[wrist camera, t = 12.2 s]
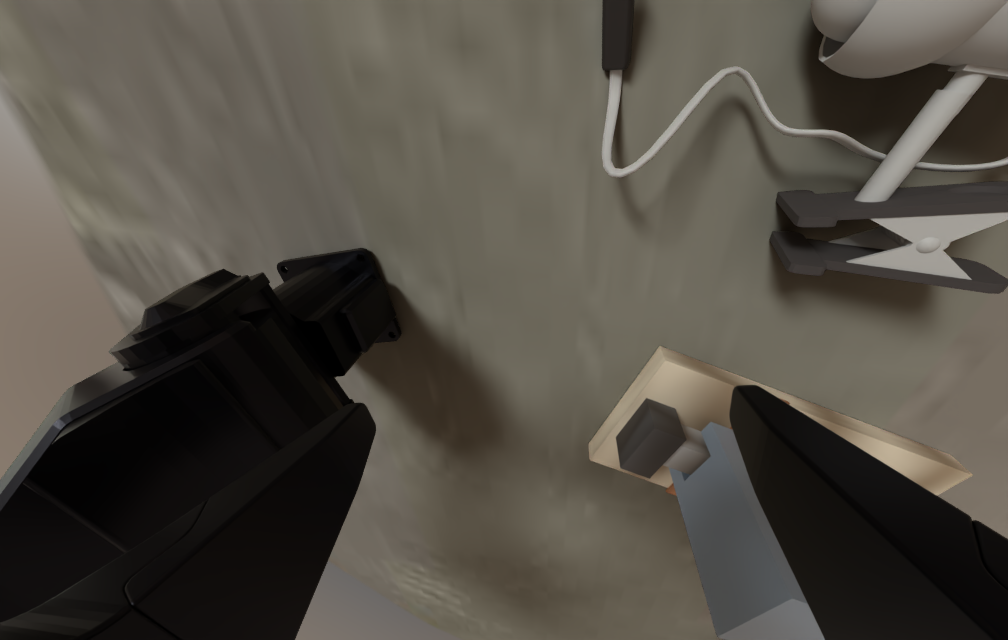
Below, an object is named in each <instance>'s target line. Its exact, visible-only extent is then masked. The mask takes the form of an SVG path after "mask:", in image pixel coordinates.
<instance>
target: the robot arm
mask: <svg viewBox="0 0 1008 640" xmlns="http://www.w3.org/2000/svg"><path fill="white" fill-rule="evenodd" d="M360 254H361V255H363V256H364V258H365V260H363V259H362V258H361V257H360ZM285 267H286V268H287V269H288V270H286V268H285ZM277 270H278V272H279V274H280V276H281V278H282V279H283V281H284V283H283V284H281V285H279V286H278V287H276V288H275V289H273V290H272V288H271V287H270V285H269V283H270V281H269V280H268V278H267V277H266V276H265V274H264V273H263V272H262V273H259V274H256V275H253V276H251V277H249V276H248V275H245V276H242V277H241V275H239V276H237V275H235V274H233V273H231V272H229V271H227V270H225V269H222V270H219V271H216V272H214V273H211V274H209V275H207V276H205V277H203V278H201V279H199V280H197V281H194V282H192V283H190V284H188V285H186V286H184V287H182V288H180V289H178V290H176V291H175V292H173V293H171V294H170V295H168V296H166V297H165V298H163V299H161V300H160V301H158V302H156V303H155V304H153V305H152V306H150V307H148V308H147V309H145V311H144V315H143V318H142V321H141V324H140V325H139V326H137V327H136V328H135V329H134V330H133V331H132V332H130V333H129V334H128V335H127V336H126V337H124V338H123V339H122V340H121V341H120V342H118V343H117V344H116V345H115V346H114V347H113V348H111V349H110V350H109V353H110V354H111V355H112V356H113V357H114V358H115V359H116V360H117V361H118V362H117V363H115V364H113V365H111V366H109V367H107V368H106V369H104V370H102V371H100V372H98V373H96V374H94V375H92V376H90V377H88V378H86V379H85V380H83V381H81V382H79V383H77V384H75V385H73V386H72V387H70V388H69V389H68V390H67V391H66V392H65V393H64V394H63V395H62V396H61V398H60V399H59V400H58V402H57V403H56V405H55V406H54V407H53V409H52V410H51V412H50V413H49V414H48V415H47V417H46V418H45V420H44V421H43V422H42V424H41V425H40V426H39V428H38V429H37V431H36V432H35V433H34V435H33V436H32V437H31V439H30V440H29V442H28V443H27V444H26V445H25V447H24V448H23V450H22V451H21V452H20V454H19V455H18V456H17V458H16V459H15V461H14V462H13V463H12V465H11V466H10V467H9V469H8V470H7V471H6V473H5V474H4V476H3V477H2V478H1V480H0V640H295V638H296V636H297V633H298V631H299V629H300V626H301V624H302V621H303V619H304V617H305V614H306V612H307V609H308V607H309V605H310V602H311V600H312V597H313V595H314V593H315V590H316V588H317V585H318V583H319V581H320V578H321V576H322V574H323V571H324V569H325V566H326V564H327V562H328V559H329V557H330V554H331V552H332V550H333V547H334V545H335V542H336V540H337V538H338V535H339V533H340V530H341V528H342V526H343V523H344V521H345V519H346V516H347V514H348V511H349V509H350V507H351V504H352V502H353V499H354V497H355V495H356V492H357V489H358V487H359V484H360V481H361V478H362V475H363V472H364V469H365V465H366V462H367V459H368V456H369V452H370V449H371V446H372V443H373V440H374V436H375V433H376V425H375V422H374V420H373V418H372V416H371V414H370V412H369V410H368V408H367V407H366V405H365V404H363V403H354V401H353V400H352V399H349V398H348V396H347V395H346V393H345V392H344V391H343V389H342V388H341V386H340V385H339V383H338V382H337V381H336V379H335V378H336V376H344V375H345V374H346V373H347V372H348V370H349V369H350V368H351V367H352V366H353V364H354V363H355V362H356V361H357V359H358V358H359V357H360V356H361V355H362V353H366V352H367V351H368V350H369V349H370V348H371V346H372V345H373V344H374V343H379V342H390V341H397V340H398V339H399V338H400V336H401V330H400V327H399V325H398V322H397V319H396V317H395V316H396V314H395V311H394V308H393V306H392V303H391V301H390V298H389V296H388V293H387V291H386V288H385V285H384V283H383V281H382V280H381V279H380V276H379V274H378V271H377V268H376V266H375V263H374V261H373V258H372V256H371V254H370V252H369V251H368V250H367V249H364V248H358V249H352V250H345V251H339V252H333V253H326V254H320V255H314V256H307V257H301V258H295V259H288V260H284V261H282V262H280V263H278V265H277ZM391 332H394V333H395V335H394V334H392V333H391ZM729 418H730V423H731V427H732V429H733V432H734V435H735V438H736V441H737V444H738V447H739V450H740V453H741V455H742V458H743V461H744V464H745V467H746V470H747V473H748V476H749V478H750V481H751V484H752V487H753V489H754V492H755V494H756V496H757V499H758V501H759V503H760V505H761V507H762V509H763V512H764V514H765V516H766V518H767V520H768V522H769V524H770V526H771V528H772V530H773V532H774V534H775V537H776V539H777V541H778V543H779V545H780V547H781V549H782V551H783V553H784V555H785V557H786V559H787V562H788V564H789V566H790V568H791V570H792V572H793V574H794V576H795V578H796V580H797V582H798V584H799V587H800V589H801V591H802V593H803V595H804V597H805V599H806V601H807V603H808V605H809V607H810V610H811V612H812V614H813V616H814V618H815V620H816V622H817V624H818V626H819V628H820V630H821V632H822V635H823V637H824V639H825V640H1008V539H1007V538H1005V537H1003V536H1002V535H1000V534H999V533H997V532H995V531H994V530H992V529H990V528H989V527H987V526H986V525H984V524H982V523H981V522H979V521H976V520H973V521H972V519H971V517H970V516H969V515H967V514H966V513H964V512H963V511H961V510H959V509H958V508H956V507H954V506H953V505H951V504H950V503H948V502H946V501H945V500H943V499H941V498H940V497H938V496H937V495H935V494H933V493H932V492H930V491H929V490H927V489H925V488H924V487H922V486H920V485H919V484H917V483H916V482H914V481H912V480H911V479H909V478H907V477H906V476H904V475H903V474H901V473H899V472H898V471H896V470H894V469H893V468H891V467H890V466H888V465H886V464H885V463H883V462H881V461H880V460H878V459H877V458H875V457H873V456H872V455H870V454H868V453H867V452H865V451H864V450H862V449H860V448H859V447H857V446H856V445H854V444H852V443H851V442H849V441H847V440H846V439H844V438H843V437H841V436H839V435H838V434H836V433H834V432H833V431H831V430H830V429H828V428H826V427H825V426H823V425H821V424H820V423H818V422H817V421H815V420H813V419H812V418H810V417H808V416H807V415H805V414H804V413H802V412H800V411H799V410H797V409H795V408H794V407H792V406H791V405H789V404H787V403H786V402H784V401H783V400H781V399H779V398H778V397H776V396H774V395H773V394H771V393H770V392H768V391H766V390H765V389H763V388H761V387H760V386H757V385H738V386H735V387H734V389H733V392H732V398H731V405H730V412H729Z"/></svg>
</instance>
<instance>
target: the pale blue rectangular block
mask: <svg viewBox="0 0 1008 640" xmlns="http://www.w3.org/2000/svg"><path fill="white" fill-rule="evenodd" d="M701 433H702V436H703V438H704V441H705V443H706V445H707V448H708V450H709V453H710V455H711V456H710V457H709V458H708V459H707V460H706V461H705V462H704V463H703V464H702V465H701V466H700V467H699V468H698V469H697V470H696V471H695V472H694V473H693V474H691V475H689V474H686V473H683V472H681V471H678V470H675V469H672V468H669V470H670V474H671V477H672V481H673V484H674V488H675V491H676V495H677V498H678V502H679V505H680V509H681V512H682V516H683V519H684V523H685V526H686V530H687V533H688V537H689V540H690V544H691V547H692V551H693V554H694V558H695V561H696V565H697V568H698V572H699V575H700V579H701V582H702V586H703V589H704V593H705V596H706V600H707V603H708V607H709V610H710V614H711V617H712V621H713V624H714V628H715V631H716V635H717V637H719V638H722V639H725V640H825V639H824V637H823V635H822V632H821V630H820V628H819V626H818V624H817V622H816V620H815V618H814V616H813V614H812V612H811V610H810V607H809V605H808V603H807V601H806V599H805V597H804V595H803V593H802V591H801V589H800V587H799V584H798V582H797V580H796V578H795V576H794V574H793V572H792V570H791V568H790V566H789V564H788V562H787V559H786V557H785V555H784V553H783V551H782V549H781V547H780V545H779V543H778V541H777V539H776V537H775V534H774V532H773V530H772V528H771V526H770V524H769V522H768V520H767V518H766V516H765V514H764V512H763V509H762V507H761V505H760V503H759V501H758V499H757V496H756V494H755V492H754V489H753V487H752V484H751V481H750V478H749V476H748V473H747V470H746V467H745V464H744V461H743V458H742V455H741V453H740V450H739V447H738V444H737V441H736V438H735V435H734V432H733V430H732V429H729V428H727V427H724V426H721V425H718V424H716V423H713V422H710V423H709V424H708V425H707V426H706V427H705V428H704V429H703V430H702V431H701Z"/></svg>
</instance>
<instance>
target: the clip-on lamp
mask: <svg viewBox="0 0 1008 640" xmlns="http://www.w3.org/2000/svg"><path fill="white" fill-rule="evenodd" d="M633 14H634V0H603V18H602V68H603V70H605V71H608V70H610V87H609V101H608V108H607V115H606V122H605V129H604V135H603V145H602V160H603V168H604V169H605V170H606V172H607V173H608V174H609V176H610V177H618V178H622V177H625V176H627V175H629V174H632V173H634V172H636V171H637V170H639V169H640V168H641V167H642V166H644V165H645V164H646V163H647V162H649V161H650V160H651V159H652V158H653V157H654V156H655V155H656V154H657V153H658V152H659V151H660V150H661V148H662V147H663V146H664V145H665V144H666V143H667V142H668V141H669V140H670V139H671V137H672V136H673V135H674V134H675V133H676V131H677V130H678V129H679V128H680V126H681V125H682V124H683V123H684V121H685V120H686V119H687V118H688V116H689V115H690V114H691V113H692V112H693V110H694V109H695V108H696V107H697V105H698V104H699V103H700V102H701V101H702V99H703V98H704V97H705V96H706V95H707V93H708V92H709V91H710V90H711V89H712V88H713V87H714V86H715V85H716V84H717V83H718V82H719V81H721V80H722V79H723V78H724V77H725V76H728V75H731V74H736V75H738V76H740V77H742V79H743V80H744V81H745V83H746V84H747V86H748V87H749V88H750V90H751V92H752V94H753V96H754V98H755V100H756V102H757V104H758V106H759V108H760V109H761V111H762V113H763V114H764V116H765V118H766V119H767V121H768V122H769V123H770V124H771V125H772V126H773V128H774V129H775V130H777V131H779V132H780V133H782V134H783V135H787V136H792V137H819V138H828V139H831V140H834V141H836V142H838V143H840V144H841V145H843V146H845V147H846V148H848V149H849V150H851V151H853V152H855V153H857V154H859V155H861V156H864V157H867V158H870V159H873V160H876V161H879V162H882V163H881V164H880V165H879V167H878V168H877V169H876V171H875V172H874V173H873V175H872V176H871V177H870V179H869V180H868V181H867V183H866V184H865V186H864V187H863V188H862V190H861V191H855V192H841V193H827V194H814V193H813V192H812V191H808V190H796V191H785V192H778V195H777V199H776V202H777V203H778V204H779V206H780V207H781V208H782V209H783V211H784V212H785V213H786V215H787V216H788V217H789V218H790V220H791V221H792V222H793V223H794V225H796V226H799V227H833V226H836V223H837V220H853V219H871V220H872V221H874V222H876V223H878V224H880V225H882V226H880V227H876V228H873V229H869V230H866V231H862V232H859V233H855V234H852V235H849V236H845V237H842V238H838V239H835V240H831V241H821V240H813V239H806V238H805V236H804V235H803V234H800V233H796V232H775V231H773V232H772V235H771V237H770V242H771V244H772V245H773V247H774V249H775V251H776V252H777V254H778V256H779V258H780V260H781V261H782V263H783V265H784V267H785V269H786V270H787V271H790V272H792V273H798V274H806V275H815V276H821V275H823V273H824V271H825V269H828V270H834V271H841V272H848V273H855V274H862V275H868V276H875V277H882V278H889V279H895V280H902V281H909V282H916V283H922V284H929V285H936V286H943V287H949V288H956V289H963V290H970V291H977V292H983V293H997V294H999V293H1001V292H1003V291H1004V290H1005V289H1006V287H1007V286H1008V279H1007V278H1005V277H1003V276H1002V275H1000V274H998V273H997V272H995V271H994V270H992V269H990V268H989V267H987V266H985V265H983V264H981V263H978V262H975V261H971V260H967V259H961V258H954V257H949V256H948V255H947V254H946V253H945V252H944V251H943V250H944V249H946V248H947V247H948V246H949V245H950V243H951V242H952V241H954V240H957V239H959V238H962V237H965V236H967V235H970V234H972V233H975V232H978V231H980V230H983V229H985V228H988V227H990V226H993V225H996V224H998V223H1001V222H1003V221H1006V220H1008V182H979V183H965V184H951V185H937V186H924V187H910V188H898V187H899V185H900V184H901V183H902V182H903V180H904V179H905V178H906V177H907V175H908V174H909V173H910V172H911V170H912V169H921V170H930V171H944V172H969V171H979V170H987V169H992V168H996V167H1001V166H1005V165H1008V157H1006V158H1004V159H1002V160H999V161H995V162H991V163H983V164H972V165H946V164H933V163H924V162H919V161H920V159H921V158H922V157H923V156H924V154H925V153H926V152H927V151H928V149H929V148H930V147H931V146H932V144H933V143H934V142H935V141H936V140H937V138H938V137H939V136H940V135H941V133H942V132H943V131H944V130H945V128H946V127H947V126H948V125H949V123H950V122H951V121H952V120H953V118H954V117H955V116H956V115H957V114H958V113H959V112H960V111H961V109H962V108H963V107H964V106H965V104H966V103H967V102H968V101H969V99H970V98H971V97H972V96H973V95H974V93H975V92H976V91H977V90H978V88H979V87H980V86H981V85H982V83H983V82H984V81H985V80H986V79H987V77H991V78H998V79H1005V80H1008V0H811V14H812V19H813V21H814V24H815V26H816V27H817V28H818V30H819V31H820V32H821V33H822V34H824V36H823V40H822V43H821V46H820V49H819V60H820V61H822V62H823V63H824V64H825V65H826V66H828V67H829V68H830V69H832V70H834V71H836V72H838V73H839V74H842V75H846V76H849V77H853V78H865V79H868V78H881V77H886V76H891V75H896V74H899V73H902V72H905V71H909V70H912V69H915V68H918V67H921V66H924V65H927V64H929V63H936V64H942V65H949V66H950V68H949V69H948V70H947V71H950V72H956V73H955V74H954V76H953V77H952V78H951V80H950V81H949V82H948V84H947V85H946V86H945V88H944V89H943V90H936V91H935V92H934V93H933V95H932V96H931V97H930V99H929V100H928V101H927V103H926V104H925V105H924V107H923V108H922V109H921V111H920V112H919V113H918V115H917V116H916V117H915V119H914V120H913V121H912V123H911V124H910V125H909V127H908V128H907V129H906V131H905V132H904V133H903V135H902V136H901V137H900V139H899V140H898V141H897V143H896V144H895V145H894V147H893V148H892V149H891V151H890V152H889V153H888V155H885V154H883V153H880V152H877V151H874V150H872V149H870V148H868V147H866V146H864V145H862V144H860V143H859V142H857V141H856V140H854V139H853V138H851V137H849V136H847V135H846V134H843V133H840V132H837V131H833V130H800V129H794V128H788V127H786V126H785V125H783V124H781V123H780V122H779V121H778V120H777V119H776V118H775V117H774V116H773V114H772V113H771V111H770V109H769V108H768V106H767V104H766V102H765V100H764V98H763V96H762V94H761V92H760V90H759V88H758V86H757V84H756V82H755V81H754V79H753V78H752V76H751V75H750V74H749V72H747V71H745V70H743V69H742V68H740V67H737V66H735V67H731V68H726V69H722V70H721V71H720V72H718V73H717V74H716V75H715V76H714V77H712V78H711V79H710V80H709V81H708V82H707V83H705V84H704V85H703V87H702V88H701V89H700V90H699V91H698V92H697V93H696V95H695V96H694V97H693V98H692V99H691V100H690V101H689V103H688V104H687V105H686V106H685V107H684V109H683V110H682V111H681V112H680V114H679V115H678V116H677V117H676V119H675V120H674V121H673V122H672V124H671V125H670V126H669V127H668V128H667V130H666V131H665V132H664V133H663V134H662V136H661V137H660V138H659V139H658V140H657V141H656V142H655V144H654V145H653V146H652V147H651V148H650V149H649V150H648V151H647V152H646V153H645V154H644V155H643V156H642V157H641V158H639V159H638V160H637V161H636V162H635V163H633V164H631V165H629V166H628V167H626V168H624V169H618V168H615V167H614V165H613V163H612V143H613V137H614V131H615V125H616V120H617V115H618V109H619V103H620V96H621V85H622V70H624V69H627V67H628V65H629V63H630V59H631V44H632V29H633Z"/></svg>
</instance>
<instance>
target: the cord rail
mask: <svg viewBox="0 0 1008 640" xmlns="http://www.w3.org/2000/svg"><path fill="white" fill-rule="evenodd" d="M738 385H757V386H760V387H761V388H763V389H765V390H766V391H768V392H770V393H771V394H773V395H774V396H776V397H778V398H779V399H781V400H783V401H784V402H786V403H787V404H789V405H791V406H792V407H794V408H795V409H797V410H799V411H800V412H802V413H804V414H805V415H807V416H808V417H810V418H812V419H813V420H815V421H817V422H818V423H820V424H821V425H823V426H825V427H826V428H828V429H830V430H831V431H833V432H834V433H836V434H838V435H839V436H841V437H843V438H844V439H846V440H847V441H849V442H851V443H852V444H854V445H856V446H857V447H859V448H860V449H862V450H864V451H865V452H867V453H868V454H870V455H872V456H873V457H875V458H877V459H878V460H880V461H881V462H883V463H885V464H886V465H888V466H890V467H891V468H893V469H894V470H896V471H898V472H899V473H901V474H903V475H904V476H906V477H907V478H909V479H911V480H912V481H914V482H916V483H917V484H919V485H920V486H922V487H924V488H925V489H927V490H929V491H930V492H932V493H933V494H935V495H938V494H940V493H942V492H944V491H946V490H947V489H949V488H951V487H953V486H955V485H956V484H958V483H960V482H962V481H964V480H965V479H967V478H969V477H971V476H973V475H972V474H971V473H970V472H969V471H968V470H967V469H966V468H964V467H963V466H962V465H961V464H960V463H959V462H958V461H957V460H956V459H955V458H953V457H952V456H951V455H949V454H947V453H944V452H941V451H939V450H936V449H933V448H931V447H928V446H925V445H923V444H920V443H917V442H915V441H912V440H909V439H907V438H904V437H901V436H899V435H896V434H893V433H891V432H888V431H885V430H883V429H880V428H877V427H875V426H872V425H869V424H867V423H864V422H861V421H859V420H856V419H853V418H851V417H848V416H845V415H843V414H840V413H837V412H835V411H832V410H829V409H827V408H824V407H821V406H819V405H816V404H813V403H811V402H808V401H805V400H803V399H800V398H797V397H795V396H792V395H789V394H787V393H784V392H782V391H779V390H776V389H774V388H771V387H768V386H766V385H763V384H760V383H758V382H755V381H752V380H750V379H747V378H744V377H742V376H739V375H736V374H734V373H731V372H728V371H726V370H723V369H720V368H718V367H715V366H712V365H710V364H707V363H704V362H702V361H699V360H696V359H694V358H691V357H688V356H686V355H683V354H680V353H678V352H675V351H672V350H670V349H667V348H664V347H662V346H659V348H658V349H657V350H656V352H655V353H654V354H653V356H652V357H651V359H650V360H649V361H648V363H647V364H646V365H645V367H644V368H643V370H642V371H641V372H640V374H639V375H638V376H637V378H636V379H635V381H634V382H633V383H632V385H631V386H630V387H629V389H628V390H627V392H626V393H625V394H624V396H623V397H622V398H621V400H620V401H619V403H618V404H617V405H616V407H615V408H614V409H613V411H612V412H611V414H610V415H609V416H608V418H607V419H606V420H605V422H604V423H603V425H602V426H601V427H600V429H599V430H598V431H597V433H596V434H595V435H594V437H593V438H592V440H591V441H590V442H589V458H590V460H591V461H593V462H596V463H599V464H602V465H605V466H607V467H610V468H613V469H616V470H619V471H622V472H624V473H627V474H630V475H633V476H636V477H638V478H641V479H644V480H647V481H650V482H652V483H655V484H658V485H661V486H664V487H666V488H667V489H666V492H667V493H670V494H673V495H676V491H675V488H674V484H673V481H672V477H671V474H670V470H669V468H672V469H675V470H678V471H681V472H683V473H686V474H689V475H691V474H693V473H694V472H695V471H696V470H697V469H698V468H699V467H700V466H701V465H702V464H703V463H704V462H705V461H706V460H707V459H708V458H709V457H710V456H711V455H710V453H709V450H708V448H707V445H706V443H705V441H704V438H703V436H702V433H701V431H702V430H703V429H704V428H705V427H706V426H707V425H708V424H709V423H710V422H713V423H716V424H718V425H721V426H724V427H727V428H729V429H732V427H731V423H730V418H729V412H730V405H731V398H732V392H733V389H734V387H735V386H738ZM732 430H733V429H732ZM676 496H677V495H676Z"/></svg>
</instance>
